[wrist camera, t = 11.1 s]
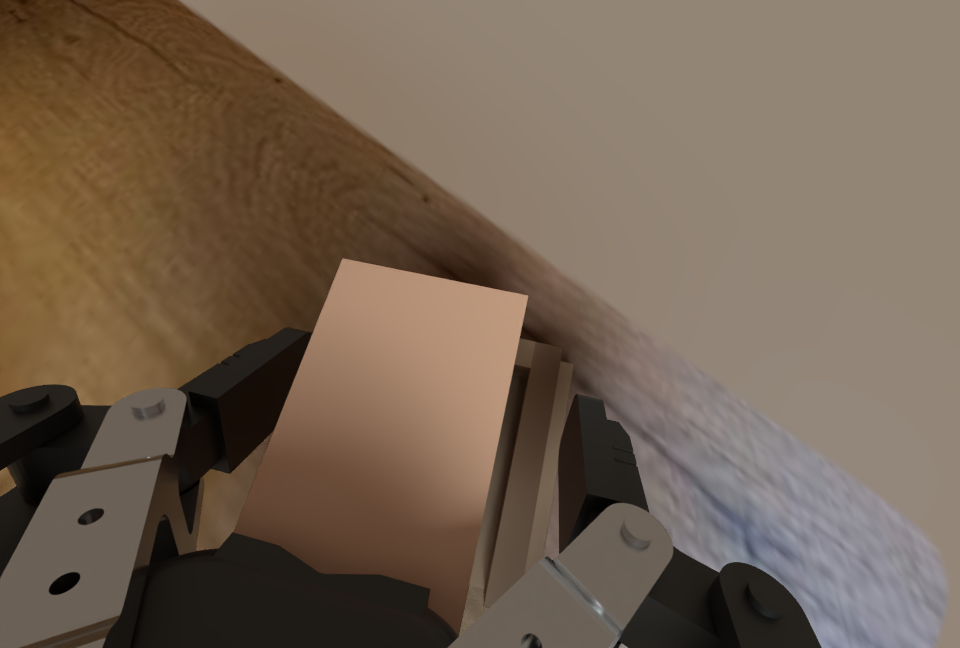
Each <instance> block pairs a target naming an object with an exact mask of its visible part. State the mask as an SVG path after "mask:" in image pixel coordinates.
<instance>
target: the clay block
mask: <svg viewBox="0 0 960 648" xmlns="http://www.w3.org/2000/svg"><path fill="white" fill-rule="evenodd" d="M527 300H528V296H527V295H522V294H517V293H512V292H507V291H503V290H498V289H493V288H488V287H483V286H478V285H473V284H468V283H463V282H458V281H453V280H448V279H443V278H438V277H433V276H428V275H423V274H418V273H413V272H408V271H403V270H398V269H393V268H388V267H383V266H378V265H373V264H368V263H363V262H358V261H353V260H348V259H342V261H341V264H340V266H339V269H338V271H337V274H336V276H335V279H334V281H333V284H332V286H331V289H330V291H329V294H328V296H327V299H326V301H325V304H324V306H323V309H322V311H321V314H320V316H319V319H318V321H317V324H316V326H315V329H314V331H313V334H312V336H311V339H310V341H309V344H308V346H307V349H306V351H305V354H304V356H303V359H302V361H301V364H300V367H299V369H298V372H297V374H296V377H295V379H294V382H293V384H292V387H291V389H290V392H289V394H288V397H287V399H286V402H285V404H284V407H283V409H282V412H281V414H280V417H279V419H278V422H277V424H276V427H275V429H274V432H273V434H272V437H271V439H270V442H269V444H268V447H267V449H266V452H265V454H264V457H263V459H262V462H261V464H260V467H259V469H258V472H257V474H256V477H255V479H254V482H253V484H252V487H251V489H250V492H249V494H248V497H247V499H246V502H245V505H244V507H243V510H242V512H241V515H240V517H239V520H238V522H237V525H236V527H235V530H234V533H237V534H241V535H244V536H248V537H251V538H255V539H258V540H262V541H265V542H269V543H272V544H276V545H279V546H281V547H282V548H284V549H285V550H287V551H288V552H290V553H291V554H293V555H294V556H296V557H297V558H299V559H300V560H301V561H303V562H304V563H306V564H307V565H309V566H310V567H312V568H313V569H315V570H316V571H318V572H320V573H323V574H380V575H384V576H387V577H391V578H394V579H398V580H401V581H405V582H408V583H412V584H415V585H419V586H422V587H426V588H429V589H430V595H429V601H428V608H430V609H431V610H432V611H434V612H435V613H437V614H438V615H439V616H440V617H442V618H443V619H444V620H445V621H446V622H447V623H448V624H449V625H450V626H451V627H452V629H453V630H454V631H455V632H456V633H457V634H458V636H459V632H460V627H461V622H462V617H463V613H464V608H465V603H466V598H467V593H468V588H469V583H470V578H471V574H472V569H473V564H474V559H475V554H476V549H477V544H478V539H479V534H480V530H481V525H482V520H483V515H484V510H485V505H486V500H487V495H488V490H489V486H490V481H491V476H492V471H493V466H494V461H495V456H496V451H497V447H498V442H499V437H500V432H501V427H502V422H503V417H504V412H505V407H506V403H507V398H508V393H509V388H510V383H511V378H512V373H513V368H514V363H515V359H516V354H517V349H518V344H519V339H520V334H521V329H522V324H523V320H524V315H525V310H526V305H527Z"/></svg>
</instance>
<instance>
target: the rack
mask: <svg viewBox="0 0 960 648" xmlns="http://www.w3.org/2000/svg"><path fill="white" fill-rule="evenodd" d="M562 351H563V348H562V347H557V346H553V345H548V344H543V343H539V342H534V341H530V340H525V339H521V338H520V339H519V344H518V349H517V354H516V359H515V363H514V368H513V373H512V378H511V383H510V388H509V393H508V398H507V403H506V407H505V412H504V417H503V422H502V427H501V432H500V437H499V442H498V447H497V451H496V456H495V461H494V466H493V471H492V476H491V481H490V486H489V490H488V495H487V500H486V505H485V510H484V515H483V520H482V525H481V530H480V534H479V539H478V544H477V549H476V554H475V559H474V564H473V569H472V574H471V578H470V583H469V586H472V587H476V588H479V589H483V590H484V607H486V608H490V607H491V606H492V605H493V604H494V603H495V602H496V601H497V600H498V599H499V598H500V597H501V596H502V595H503V594H504V593H506V592H507V591H508V590H509V589H510V588H511V587H512V586H513V585H514V584H515V583H516V582H517V581H518V580H519V579H520V578H521V577H522V576H523V575H524V574H525V573H527V572H528V571H529V570H530V569H531V568H532V567H533V566H534V565H535V564H536V563H537V562H538V561H540V560H541V559H543V556H544V550H545V544H546V537H547V531H548V525H549V518H550V512H551V506H552V499H553V493H554V487H555V480H556V474H557V468H558V455H559V446H560V441H561V437H562V434H563V430H564V424H565V417H566V411H567V405H568V398H569V392H570V386H571V379H572V373H573V367H574V364H572V363H568V362H563V361H561V357H562Z"/></svg>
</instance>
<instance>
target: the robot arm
mask: <svg viewBox="0 0 960 648" xmlns="http://www.w3.org/2000/svg"><path fill="white" fill-rule="evenodd" d="M311 336H312V333H310V332H306V331H301V330H297V329H293V328H284V329H282V330H281V331H279V332H278V333H276V334H275V335H273V336H271V337H270V338H268V339H264V340H261V341H258V342H255V343H252V344H249V345H247V346H245V347H244V348H242V349H240V350H239V351H237V352H236V353H234V354H233V356H229V357H228V358H226V359H225V360H223V361H221V364H217V365H215V366H213V367H212V368H210V369H209V370H207V371H206V372H204V373H202V374H201V375H199V376H198V377H196V378H194V379H193V380H191V381H190V382H188V383H187V384H185V385H183V386H182V387H180V388H179V389H172V388H154V389H148V390H144V391H140V392H137V393H134V394H131V395H128V396H126V397H124V398H122V399H121V400H119V401H117V402H116V403H115V404H114V405H112V406H92V405H81V404H80V401H79V399H78V396H77V393H76V391H75V390H74V389H73V388H72V387H69V386H66V385H41V386H35V387H30V388H26V389H22V390H19V391H15V392H12V393H10V394H7V395H5V396H2V397H0V470H2V469H4V468H5V467H7V468H8V470H9V472H10V474H11V476H12V478H13V480H14V482H15V484H16V487H15V488H13V489H12V490H10V491H9V492H7V493H6V494H4V495H3V496H1V497H0V648H620V646H621V645H622V644H624V645H625V646H627V647H628V648H821V646H820V643H819V641H818V639H817V637H816V635H815V633H814V631H813V629H812V627H811V625H810V623H809V621H808V619H807V617H806V615H805V613H804V611H803V609H802V608H801V606H800V605H799V603H798V602H797V600H796V599H795V598H794V597H793V596H792V594H791V593H790V592H789V591H788V590H787V589H786V588H785V587H784V586H783V585H782V584H780V583H779V582H778V581H777V580H776V579H774V578H773V577H772V576H770V575H769V574H767V573H765V572H764V571H762V570H760V569H758V568H756V567H754V566H751V565H749V564H745V563H740V562H733V563H729V564H726V565H725V566H724V567H723V568H722V570H721V571H720V573H719V572H717V571H715V570H713V569H711V568H709V567H708V566H706V565H704V564H702V563H700V562H698V561H696V560H695V559H693V558H691V557H689V556H687V555H686V554H684V553H682V552H681V551H679V550H678V549H676V548H675V547H674V546H673V544H672V540H671V538H670V536H669V534H668V532H667V530H666V529H665V528H664V526H663V525H662V524H661V523H660V522H659V521H658V520H657V519H656V518H655V517H654V516H653V515H651V514H650V513H649V509H648V505H647V502H646V498H645V494H644V490H643V486H642V482H641V479H640V475H639V471H638V467H637V466H636V459H635V455H634V454H633V448H632V444H631V440H630V436H629V435H628V434H627V432H626V431H625V430H624V429H623V427H622V426H621V425H620V423H619V422H616V421H611V420H607V418H606V413H605V408H604V403H603V401H602V400H599V399H595V398H591V397H586V396H582V395H578V394H576V395H575V397H574V399H573V402H572V405H571V408H570V411H569V415H568V418H567V421H566V424H565V427H564V430H563V434H562V437H561V441H560V446H559V455H558V474H559V556H558V557H556V558H555V559H554V560H551V559H550V558H549V557H544V558H543V559H541V560H540V561H538V562H537V563H536V564H535V565H534V566H533V567H532V568H531V569H530V570H529V571H528V572H527V573H525V574H524V575H523V576H522V577H521V578H520V579H519V580H518V581H517V582H516V583H515V584H514V585H513V586H512V587H511V588H510V589H509V590H508V591H507V592H506V593H504V594H503V595H502V596H501V597H500V598H499V599H498V600H497V601H496V602H495V603H494V604H493V605H492V606H491V607H490V608H489V609H488V610H487V611H486V612H484V613H483V614H482V615H481V616H480V617H479V618H478V619H477V620H476V621H475V622H474V623H473V624H472V625H471V626H470V627H469V628H468V629H467V630H466V631H465V632H463V633H462V634H461V635H460V636H458V634H457V633H456V632H455V631H454V630H453V629H452V627H451V626H450V625H449V624H448V623H447V622H446V621H445V620H444V619H443V618H442V617H440V616H439V615H438V614H437V613H435V612H434V611H432V610H431V609H430V608H428V601H429V595H430V589H429V588H426V587H422V586H419V585H415V584H412V583H408V582H405V581H401V580H398V579H394V578H391V577H387V576H384V575H380V574H323V573H320V572H318V571H316V570H315V569H313V568H312V567H310V566H309V565H307V564H306V563H304V562H303V561H301V560H300V559H299V558H297V557H296V556H294V555H293V554H291V553H290V552H288V551H287V550H285V549H284V548H282V547H281V546H279V545H276V544H272V543H269V542H265V541H262V540H258V539H255V538H251V537H248V536H244V535H241V534H237V533H234V532H233V533H232V534H231V535H230V536H229V537H228V538H227V540H226V541H225V542H224V543H223V544H222V546H221V547H220V548H219V549H209V550H200V551H196V546H197V537H198V530H199V522H200V515H201V507H202V499H203V492H204V478H203V475H204V474H205V473H207V472H208V471H209V470H210V469H214V470H218V471H222V472H225V473H229V474H230V473H231V472H232V471H233V470H234V469H235V468H236V467H237V466H238V465H239V464H240V463H241V462H242V461H243V460H244V459H245V458H246V457H247V456H248V455H249V454H250V453H251V452H252V451H253V450H254V449H255V448H256V447H257V446H258V445H259V444H260V443H262V442H263V441H264V440H265V439H266V438H267V437H268V436H269V435H270V434H271V433H272V432H273V431H274V429H275V427H276V424H277V422H278V419H279V417H280V414H281V412H282V409H283V407H284V404H285V402H286V399H287V397H288V394H289V392H290V389H291V387H292V384H293V382H294V379H295V377H296V374H297V372H298V369H299V367H300V364H301V361H302V359H303V356H304V354H305V351H306V349H307V346H308V344H309V341H310V339H311Z"/></svg>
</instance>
